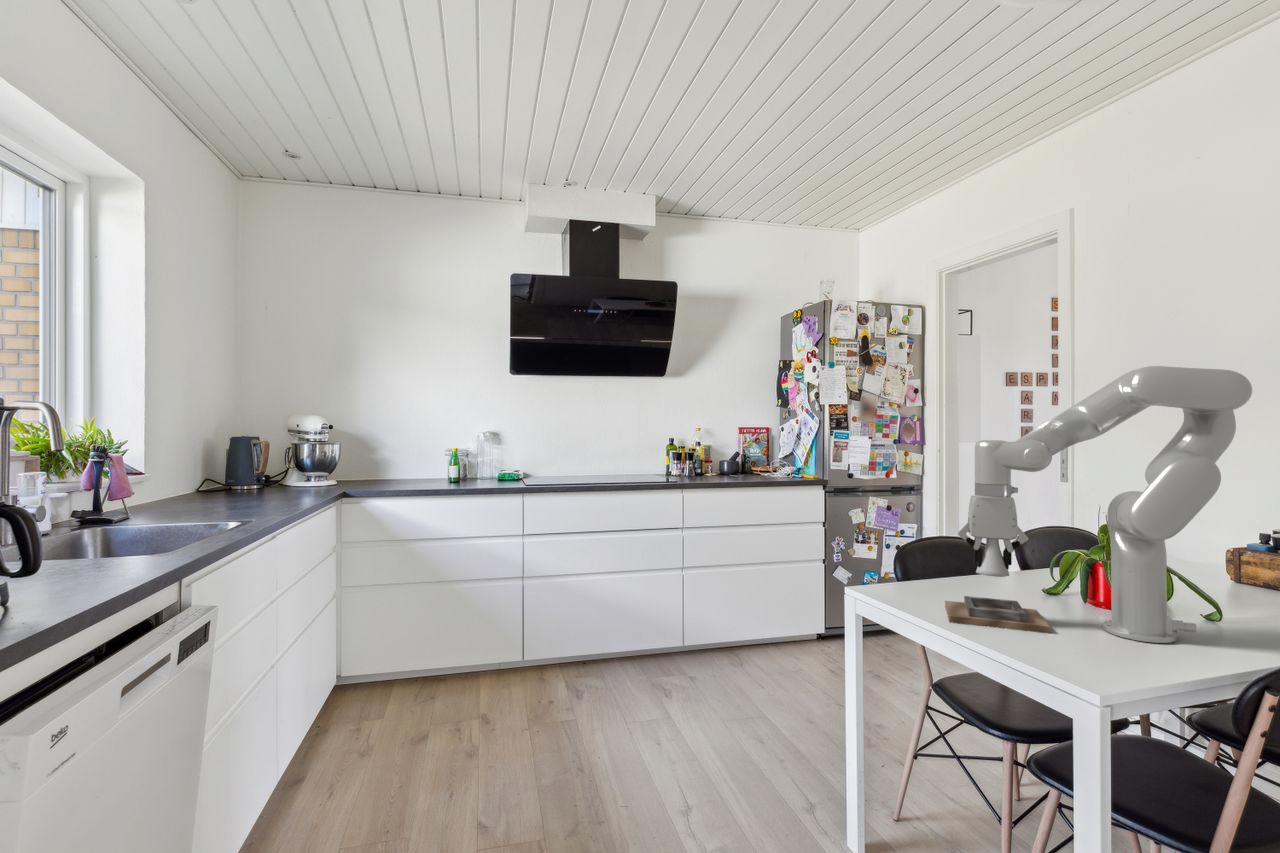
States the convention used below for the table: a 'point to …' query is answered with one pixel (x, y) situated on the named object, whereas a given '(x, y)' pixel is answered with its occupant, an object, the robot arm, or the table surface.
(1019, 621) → the walnut board
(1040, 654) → the table surface
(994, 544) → the flask
